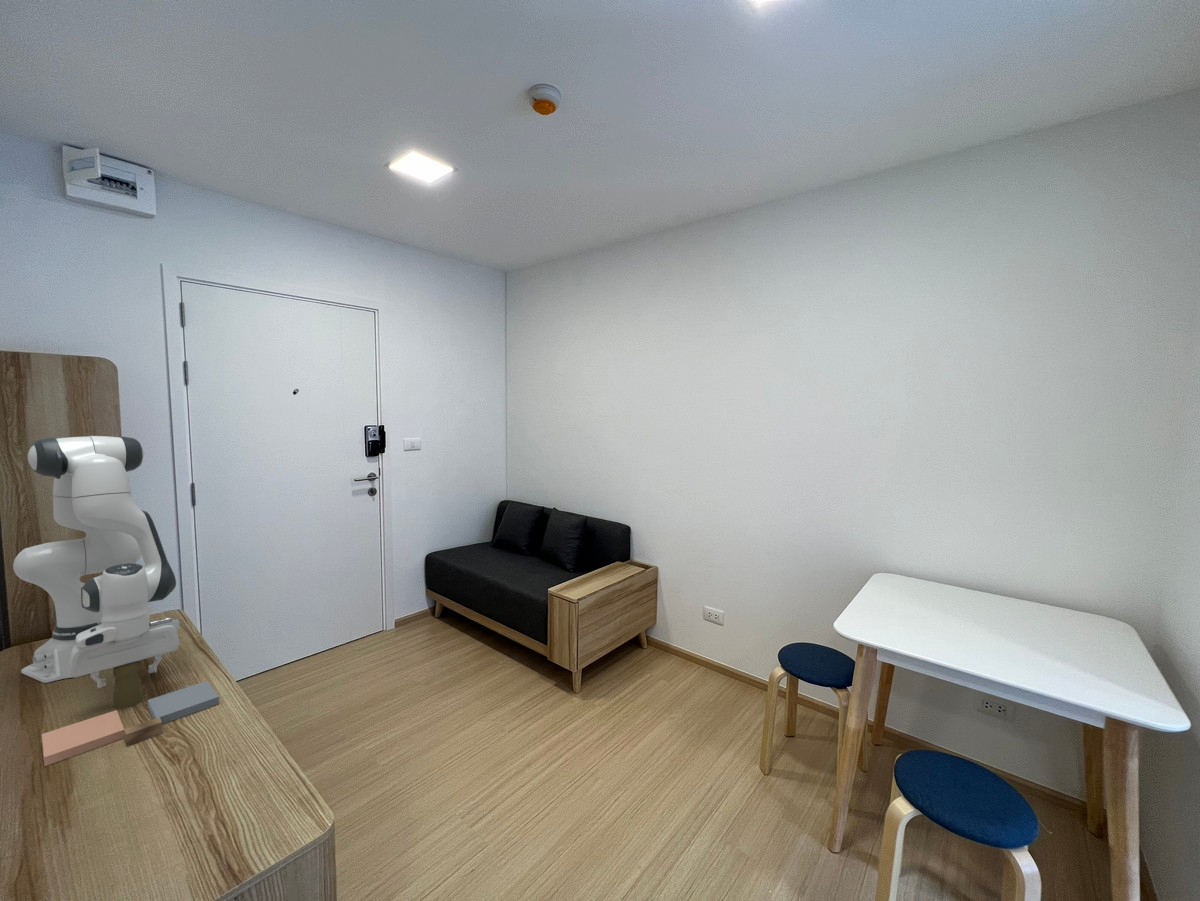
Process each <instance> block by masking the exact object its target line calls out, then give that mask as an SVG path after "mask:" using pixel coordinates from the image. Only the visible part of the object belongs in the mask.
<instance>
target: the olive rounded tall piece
mask: <svg viewBox="0 0 1200 901" xmlns="http://www.w3.org/2000/svg"><path fill="white" fill-rule="evenodd" d="M141 668H142V663H141V660H139V661H135V662H132V663H128V664H124V665H121V666H117V667H113V668H112V674H113V676H114V677H115V682H114V683H115V684H114V690H113V697H112V701H111V702H112V704H111V709H113V710H123V709H127V708H130V707H134V706H135V705H138V704H140V703H141V702H143V701H144V700H145V696H144V691H143V686H142V682H141V678H140V673H139V671H140V670H141Z"/></svg>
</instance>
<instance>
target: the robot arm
mask: <svg viewBox="0 0 1200 901" xmlns="http://www.w3.org/2000/svg"><path fill="white" fill-rule="evenodd" d="M144 454H145V453H144V449H143V447H142V445H141V442H140V441H138V440H137V439H136V438H133V437H128V436H121V435H120V436H118V437H117V436H105V435H102V436H101V435H87V436H70V437H58V438H56V437H49V438H48V437H47V438H41V439H37V440H36V441H34V442H33V443H32V444H31V447H30V448H29V450H28V453H27V461H28V464H29V466H30V467H31V469H32V471H33V472H34V473H36V474H38V475H41V476H42V477H43V476H44V477H51V478H54V479H53V485H52V502H53V503H52V505H53V506H52V507H53V508H52V509H53V510H52V511H53V520H54V522H55V523H57V524H58V525H60V526H61V527H65V528H69V529H71V530H72V529H73V530H77V531H82V532H84V533H85V535H86V536H85V537H82V538H77V539H67V540H58V541H57V540H56V541H50V542H45V543H42V544H41V543H39V544H36V545H33V546H29V547H25V548H23V549H22V550H21V551H20V552H19V553H18V554H17V555H16V556H15V558H14V560H13V564H12V567H13V568H12V569H13V572H14V573H15V575H16V577H18V578H19V579H20V580H22V581H24V582H27V583H29V584H33V585H36V586H38V587H40V588H42V589H43V590H44V591H46V593H48V594H49V596H50V597H51V599H52V601H53V604H54V608H55V609H54V610H55V618H56V624H54V625H51V626H50V631H52V635H51V638H50V639H49V640H47V641H46V642H45V643H43V644H42V645H40V646H39V647H38V648H36V650H35V651H34V653H33V656H32V662H33V663H31V664H29V665H27V666H25V667H23V668H22V669H21V670H20V673H21V674H23V675H25V676H27V677H30V678H31V679H34V680H36V681H39V682H40V683H44V684H46V683H47V684H48V683H51V682H55V681H58V680H59V681H60V680H63V679H71V678H76V679H77V678H79V677H83V676H87V675H90V678H91V679H92V680H93V681H95V682H96V686H97V689H102V688H104V687H107V679H106V677H103V678H100V677H99V675H100V672H102V671H106V670H109V669H114V667H117V666H121V665H124V664H128V663H132V662H135V661H143V660H146V659H150V658H154V661H153V663H151V664H149V665H148V668H147V669H148V670H147V671H148V674H153V673H157V671H158V665H159V663H160V662H161V661H162V659H163V655H164V654H168V653H172V652H175V651H177V650H178V648H179V647H180V641H179V635H178V631H179V630H180V627H181V626H180V620H179V619H178V618H175V617H174V618H173V617H172V616H171V617H165V618H163V619H156V620H152V621H150V619H151V617H150V609H149V606H148V603H151V602H157V601H163V600H165V598H167V597H168V596H170V594H172V592H173V591H174V590H175V588H176V586H177V579H176V575H175V573H174V571H173V569H172V566H171V565H170V562H169V561H168V558H167V556H166V552H165V550H164V547H163V544H162V541H161V539H160V538H161V537H160V535H159V533H158V531H157V528H156V527H157V526H156V525H155V522H154V520H153V518H152V516H151V515H150V514H149V512H148V511H146V510H142V509H140V508H139V506H137V505H136V503H135V502H134V499H133V497H132V491H131V490H132V489H131V485H130V480H129V475H128V473H129V472H132V471H134V470H136V469H138V468H139V467H141V465H142V463H143V460H144ZM127 472H128V473H127ZM141 558H142V560H143V563H144V565H142V564H140V563H139V564H138V563H137V562H139V561H140V559H141ZM99 573H102V574H101V575H99V576H98V575H97V576H96V577H92V578H90V579H89V580H88V581H86V582H83V581H81V580H80V578H81V577H83V576H87V575H93V574H99Z"/></svg>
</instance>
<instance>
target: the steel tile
mask: <svg viewBox="0 0 1200 901" xmlns="http://www.w3.org/2000/svg"><path fill="white" fill-rule="evenodd" d="M217 704H218V705H220V697H219V695H218V694H217V692H216V691H215V689H214V688H213V686H212V685H211V684H210V683H209V681H208V680H206V681H202V682H200V683H195V684H194V685H193V684H192V685H190V686H187V687H184V688H180V689H178V690H174V691H171V692H168V693H165V694H162V695H159V696H157V697H153V698H150V699H147V709H148V711H149V713H150V716H151V718H152V719H155V718H158V717H160V719H161V721H162V725H165V724H167V723H170V722H173V721H176V720H178V719H181V718H184V717H186V716H189V715H192V714H195V713H197V712H200V711H204V710H206V708H207V709H210V708H212V707H214V705H215V706H217ZM211 706H212V707H211Z"/></svg>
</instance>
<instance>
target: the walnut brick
mask: <svg viewBox="0 0 1200 901" xmlns="http://www.w3.org/2000/svg"><path fill="white" fill-rule="evenodd" d="M162 734H163V724H162V721H161V719H160V717H158V718H155V719H153V718H152V719H149V720H147V721H144V722H141V723H138V724H135V725H132V726H130V727H127V728H124V738H123V739H124V743H125V744H124V745H125V746H126V747H130V746H131V745H132V746H133V745H134V744H137V743H140V742H143V741H145V740H148V739H150V738H154V737H156V736H159V735H162Z"/></svg>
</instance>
